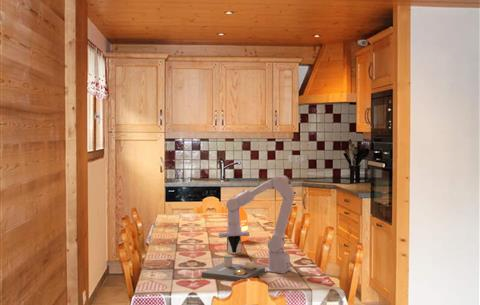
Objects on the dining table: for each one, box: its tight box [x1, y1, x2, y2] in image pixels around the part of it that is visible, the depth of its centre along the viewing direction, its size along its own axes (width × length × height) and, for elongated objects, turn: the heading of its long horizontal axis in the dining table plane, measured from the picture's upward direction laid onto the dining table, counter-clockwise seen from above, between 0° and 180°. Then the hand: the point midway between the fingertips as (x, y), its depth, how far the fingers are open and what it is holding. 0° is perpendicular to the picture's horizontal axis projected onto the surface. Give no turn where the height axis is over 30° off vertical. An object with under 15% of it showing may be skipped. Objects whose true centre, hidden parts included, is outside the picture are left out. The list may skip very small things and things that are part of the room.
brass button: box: [236, 270, 245, 276], centre depth 246 cm, size 4×4×3 cm
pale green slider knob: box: [223, 255, 233, 267], centre depth 259 cm, size 3×2×5 cm, turn 63°
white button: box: [245, 261, 256, 270], centre depth 255 cm, size 4×4×3 cm
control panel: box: [201, 262, 266, 282], centre depth 253 cm, size 22×20×2 cm
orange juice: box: [239, 206, 249, 242], centre depth 331 cm, size 8×9×20 cm
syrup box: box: [226, 226, 243, 255], centre depth 296 cm, size 6×6×14 cm
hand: (234, 252), depth 264 cm, fingers closed
